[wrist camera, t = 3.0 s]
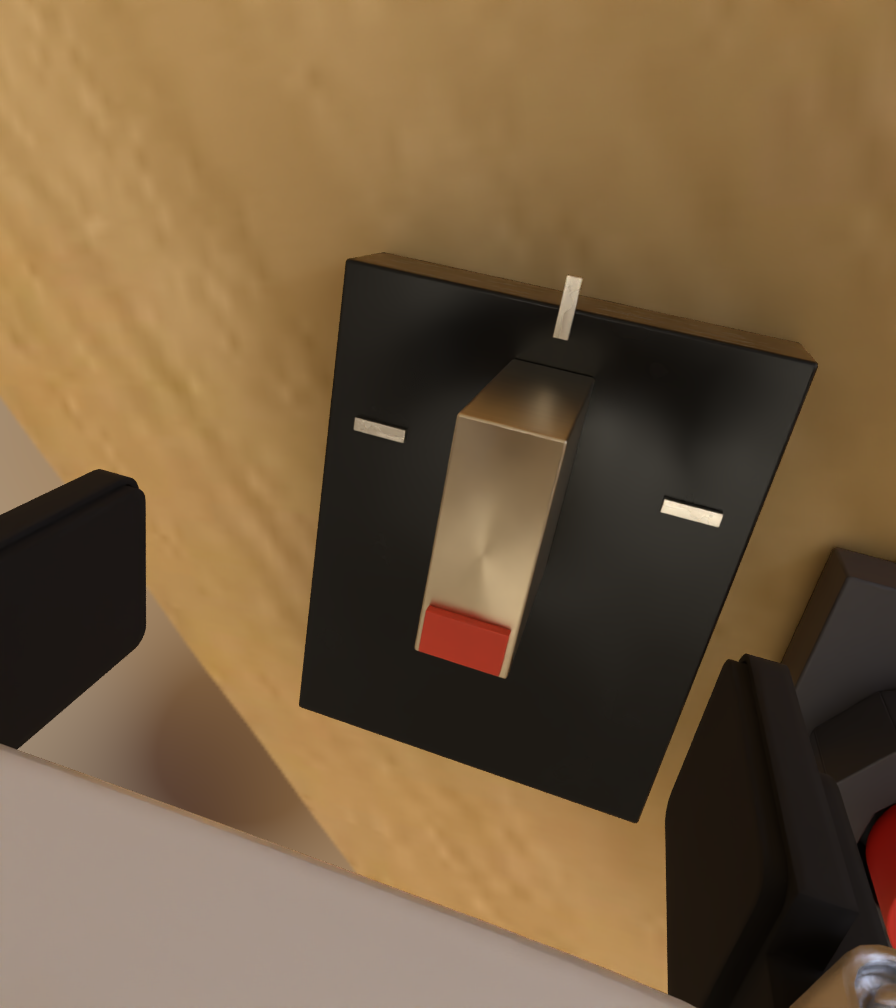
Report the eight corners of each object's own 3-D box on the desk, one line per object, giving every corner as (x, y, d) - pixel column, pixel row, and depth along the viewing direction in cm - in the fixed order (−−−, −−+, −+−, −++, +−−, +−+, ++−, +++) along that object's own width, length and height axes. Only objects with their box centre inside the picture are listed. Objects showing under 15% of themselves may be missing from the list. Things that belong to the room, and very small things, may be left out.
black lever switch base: (385, 224, 19) (345, 227, 17) (812, 314, 17) (834, 331, 15) (330, 663, 26) (295, 710, 23) (640, 767, 24) (637, 830, 21)
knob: (512, 357, 17) (453, 416, 13) (595, 377, 17) (565, 445, 12) (472, 548, 19) (409, 657, 15) (544, 568, 19) (504, 688, 14)
